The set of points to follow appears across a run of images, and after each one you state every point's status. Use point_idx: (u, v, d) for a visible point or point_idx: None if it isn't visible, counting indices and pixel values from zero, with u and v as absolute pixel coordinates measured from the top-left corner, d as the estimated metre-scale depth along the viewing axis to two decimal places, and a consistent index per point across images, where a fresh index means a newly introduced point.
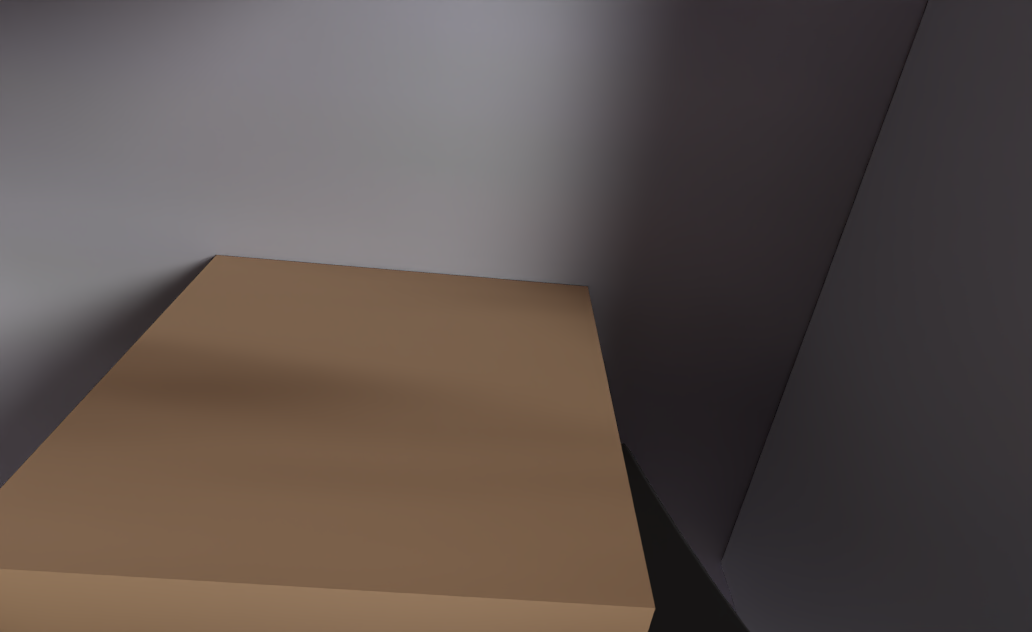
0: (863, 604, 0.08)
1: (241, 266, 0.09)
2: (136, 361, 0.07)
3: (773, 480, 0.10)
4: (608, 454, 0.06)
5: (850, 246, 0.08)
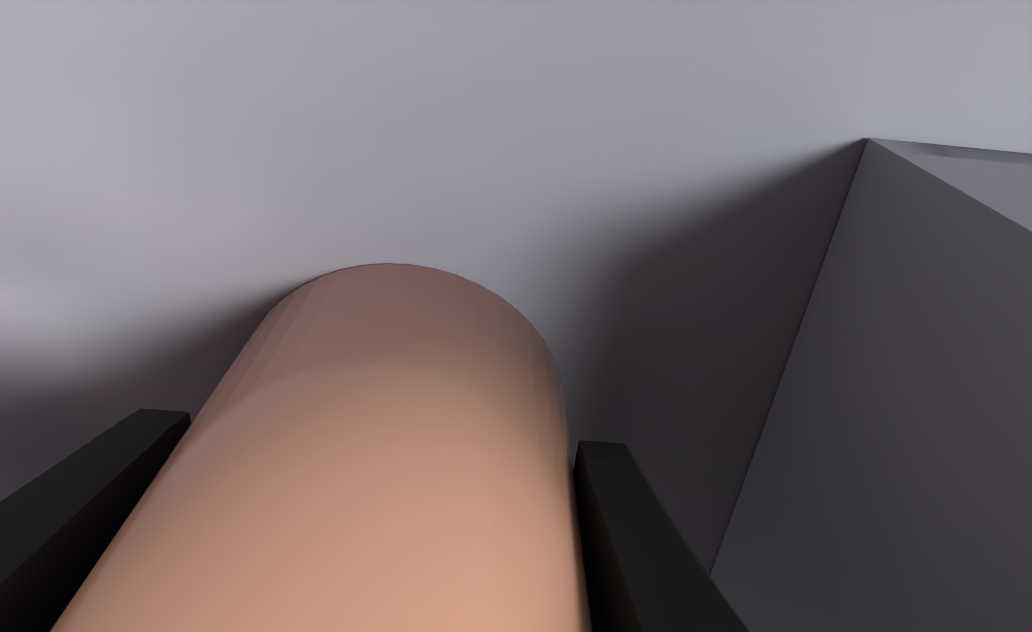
0: None
1: None
2: None
3: None
4: None
5: None
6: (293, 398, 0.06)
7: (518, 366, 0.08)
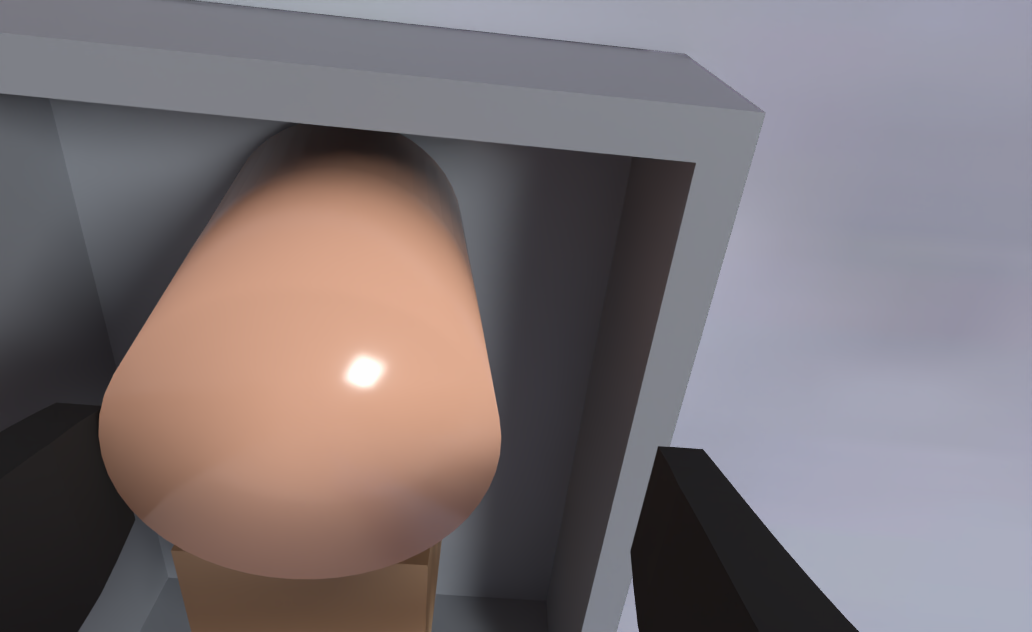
0: None
1: None
2: None
3: None
4: None
5: None
6: (289, 173, 0.11)
7: (427, 175, 0.13)
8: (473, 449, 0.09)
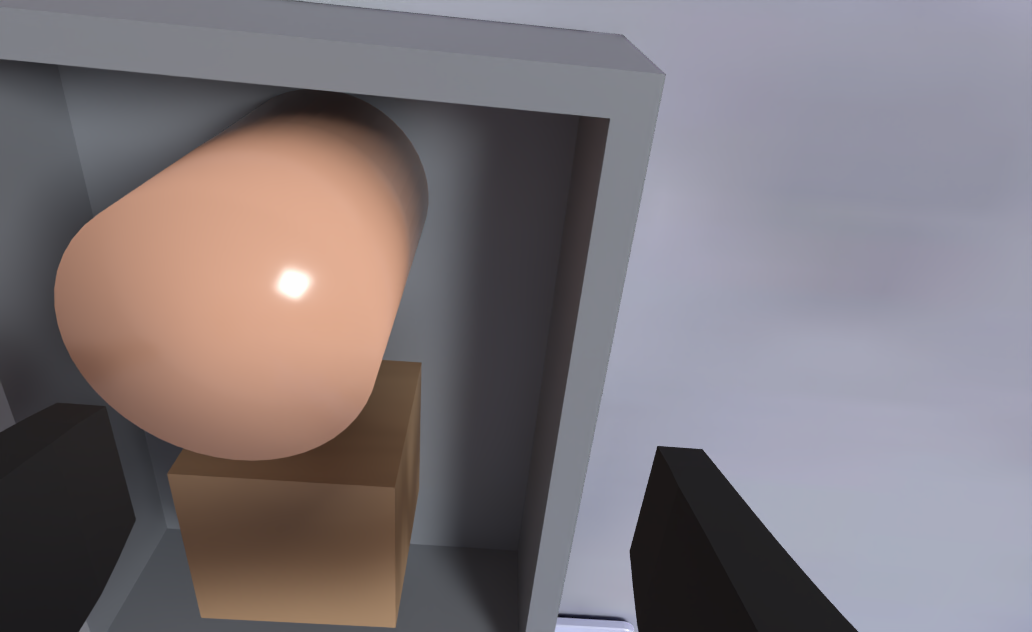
0: None
1: None
2: None
3: None
4: (398, 439, 0.16)
5: None
6: (248, 123, 0.13)
7: (383, 139, 0.14)
8: (354, 351, 0.11)
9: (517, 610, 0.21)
